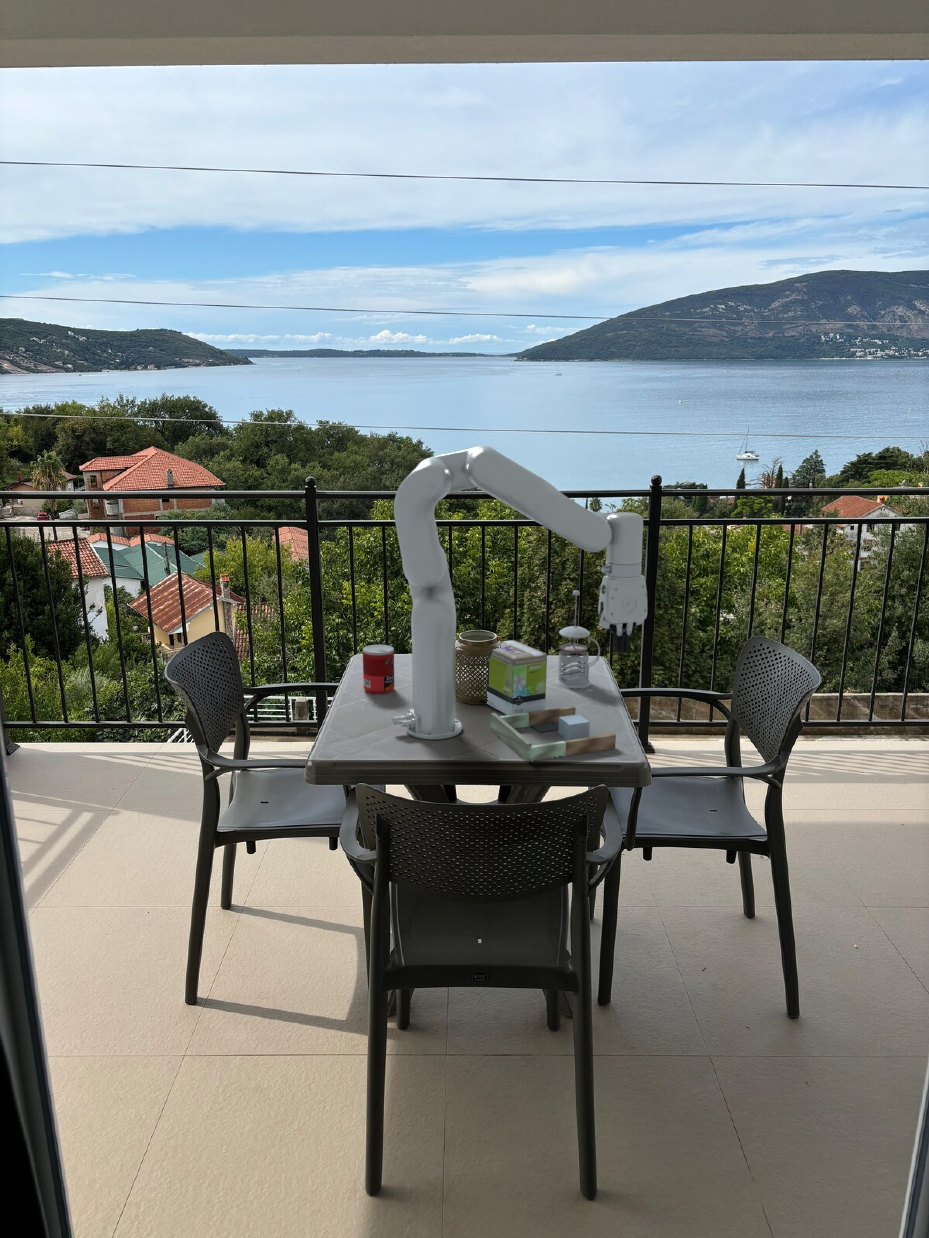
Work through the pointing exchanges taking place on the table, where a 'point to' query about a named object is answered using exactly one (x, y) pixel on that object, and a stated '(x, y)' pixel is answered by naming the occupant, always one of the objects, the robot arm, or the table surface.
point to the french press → (574, 657)
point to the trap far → (545, 727)
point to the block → (573, 727)
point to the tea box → (517, 678)
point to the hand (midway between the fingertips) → (620, 651)
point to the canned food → (378, 669)
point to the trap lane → (524, 748)
